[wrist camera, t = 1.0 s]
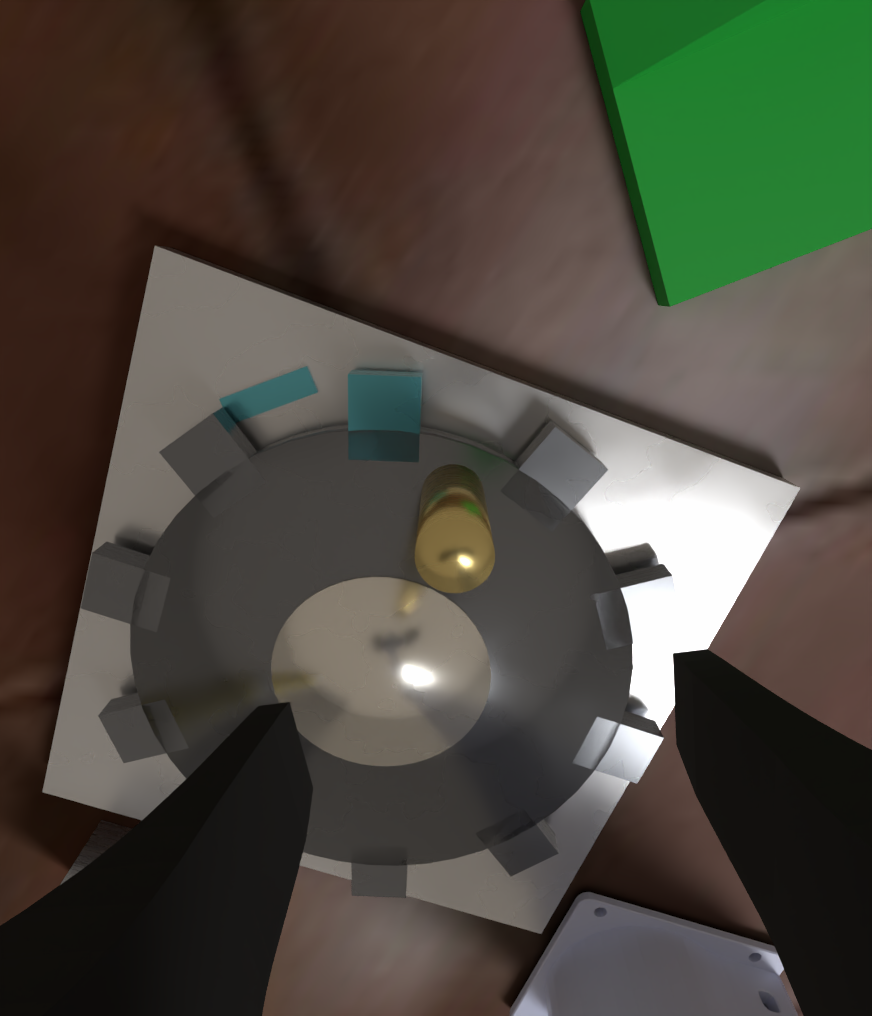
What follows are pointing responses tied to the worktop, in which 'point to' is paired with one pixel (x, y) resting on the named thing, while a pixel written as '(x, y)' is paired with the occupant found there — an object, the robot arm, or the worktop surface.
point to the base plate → (445, 406)
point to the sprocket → (390, 629)
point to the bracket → (737, 129)
